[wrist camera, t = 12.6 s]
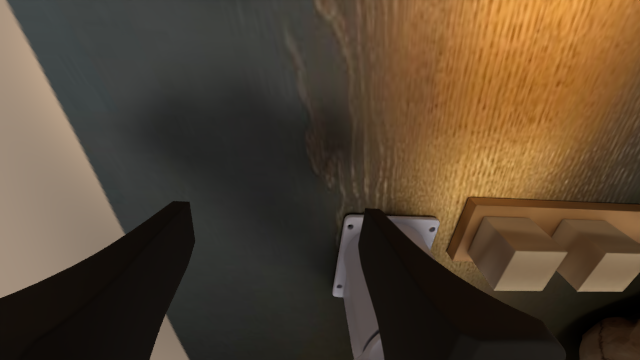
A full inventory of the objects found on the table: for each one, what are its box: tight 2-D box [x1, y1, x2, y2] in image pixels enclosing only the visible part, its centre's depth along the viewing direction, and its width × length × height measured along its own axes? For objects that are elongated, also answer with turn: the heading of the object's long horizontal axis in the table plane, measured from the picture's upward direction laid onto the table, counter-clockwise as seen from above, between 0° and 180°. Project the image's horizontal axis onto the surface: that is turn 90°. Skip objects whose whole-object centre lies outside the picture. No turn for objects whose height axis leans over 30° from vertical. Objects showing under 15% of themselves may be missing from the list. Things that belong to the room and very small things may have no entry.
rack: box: [447, 197, 640, 292], centre depth 24 cm, size 6×20×5 cm, turn 85°
